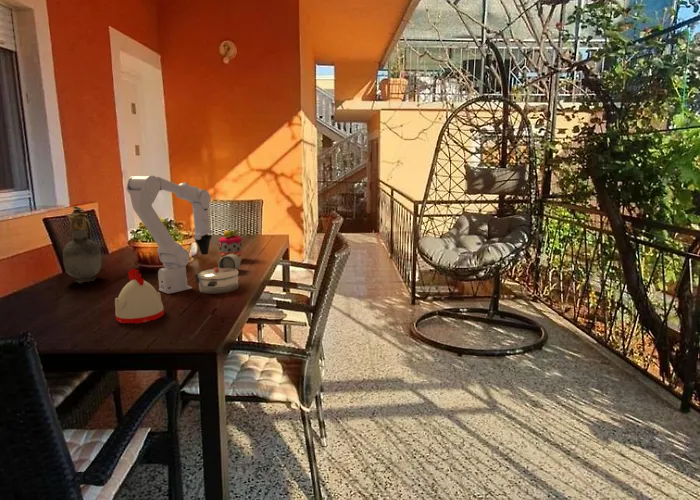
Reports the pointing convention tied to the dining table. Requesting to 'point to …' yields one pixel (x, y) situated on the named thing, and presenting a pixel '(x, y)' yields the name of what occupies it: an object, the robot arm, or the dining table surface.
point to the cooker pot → (218, 285)
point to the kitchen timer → (138, 301)
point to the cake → (230, 244)
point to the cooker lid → (217, 273)
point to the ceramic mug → (229, 261)
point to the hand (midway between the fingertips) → (204, 254)
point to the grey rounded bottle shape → (81, 250)
